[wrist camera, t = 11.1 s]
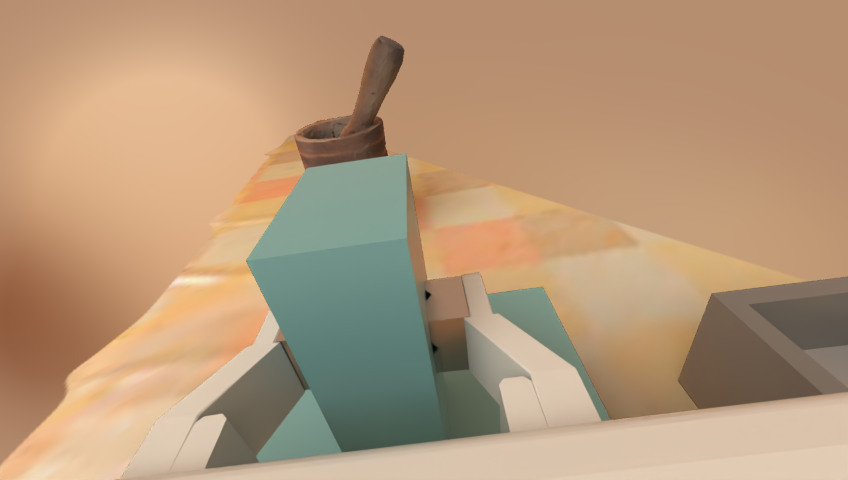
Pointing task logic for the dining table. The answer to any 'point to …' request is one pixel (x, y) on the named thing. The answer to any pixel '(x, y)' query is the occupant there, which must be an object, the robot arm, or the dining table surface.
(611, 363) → the dining table surface
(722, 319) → the tub
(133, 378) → the dining table surface
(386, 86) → the mortar and pestle
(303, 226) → the lid
